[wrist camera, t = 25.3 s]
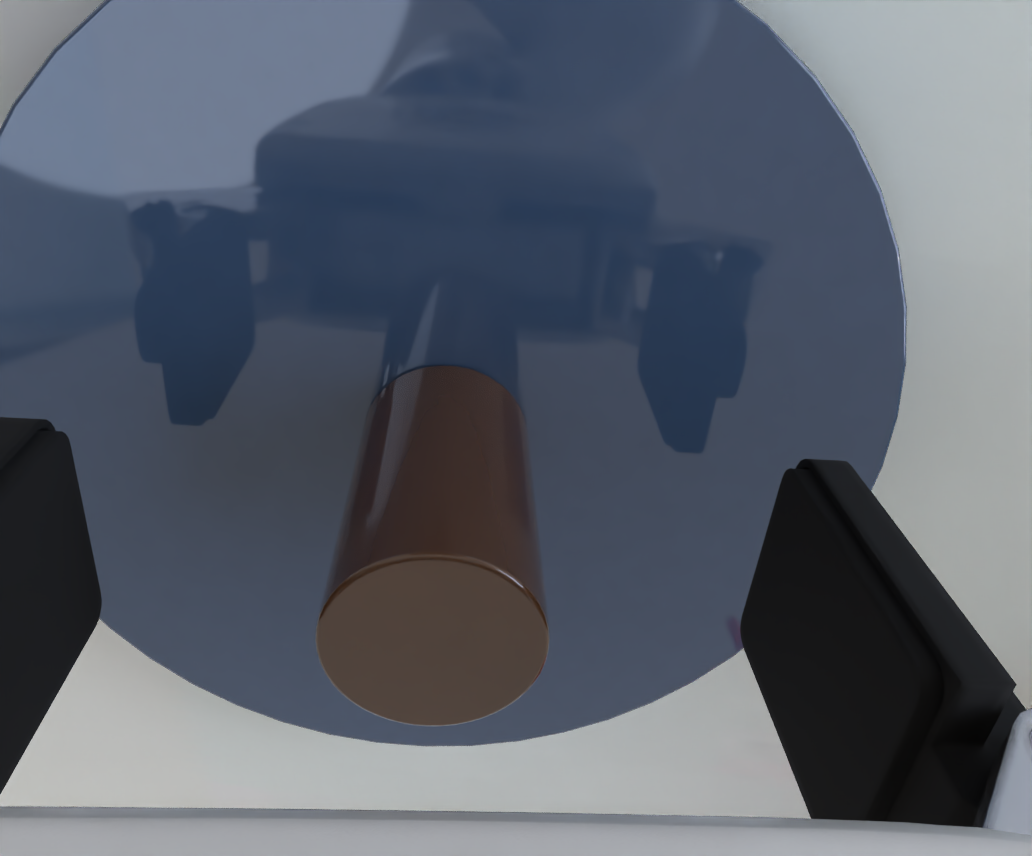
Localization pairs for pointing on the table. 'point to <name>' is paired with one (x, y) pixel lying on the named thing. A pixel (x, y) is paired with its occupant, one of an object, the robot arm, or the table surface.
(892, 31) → the table surface
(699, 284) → the crock lid
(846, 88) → the table surface
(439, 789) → the table surface
